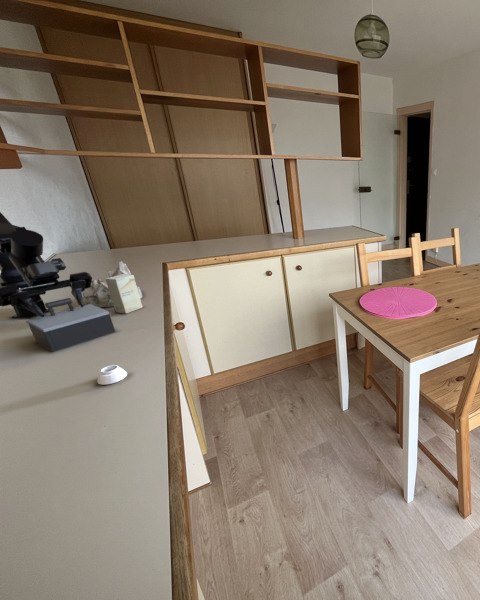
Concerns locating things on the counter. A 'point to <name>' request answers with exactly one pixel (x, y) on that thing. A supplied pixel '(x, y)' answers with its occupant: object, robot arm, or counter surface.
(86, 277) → the robot arm
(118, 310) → the cosmetic box
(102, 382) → the upturned white bowl
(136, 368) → the counter surface
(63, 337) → the sloped grey box
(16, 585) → the counter surface
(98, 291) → the beige crumpled lump
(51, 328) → the bread lid
